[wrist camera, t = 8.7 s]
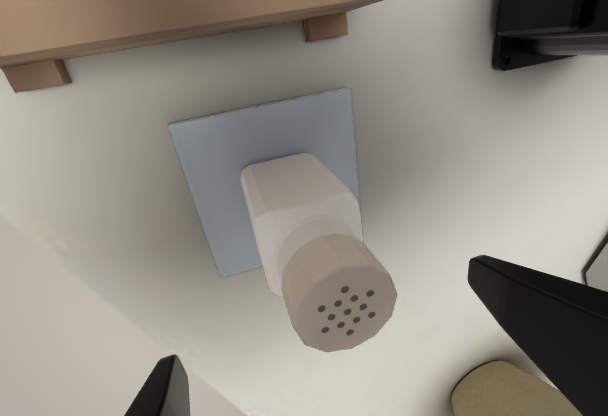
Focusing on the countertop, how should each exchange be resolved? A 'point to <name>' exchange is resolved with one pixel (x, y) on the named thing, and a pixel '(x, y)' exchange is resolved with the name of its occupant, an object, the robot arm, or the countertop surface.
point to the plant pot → (508, 394)
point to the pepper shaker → (317, 252)
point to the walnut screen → (138, 28)
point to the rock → (599, 271)
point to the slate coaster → (255, 149)
